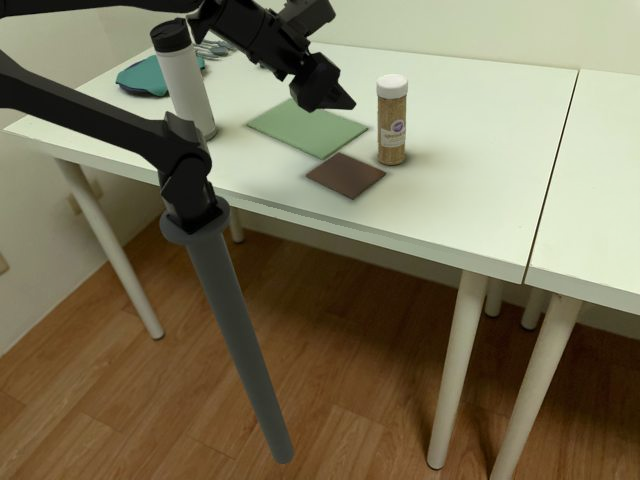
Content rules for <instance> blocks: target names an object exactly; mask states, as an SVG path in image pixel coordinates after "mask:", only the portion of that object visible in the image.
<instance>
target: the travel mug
mask: <svg viewBox="0 0 640 480" xmlns="http://www.w3.org/2000/svg"><path fill="white" fill-rule="evenodd" d="M188 26H189V25H188V23H187V20H186V18H185V17H179V16H176V17H175V18H173V19H169V20H166V21H163V22H160V23H158V24H157V25H155V26H154V27H153V28H152V29H151V30H150V32H149V37H150V40H151V43H152V45H153V49H154V52H155V55H156V56H157V59H158V62H159V65H160V68H161V70H162V73H163V76H164V79H165V82H166V85H167V88H168V90H167V92H168V94H169V96H170V97H169V98H170V100H171V102H172V105H173V108H174V111H175V115H176V116H178V117H179V118H181V119H184V120H191V121H194V123H195V127H197V128H198V129H200V131H201V132H202V133H203V135H204V137H205V140H206V142H207V141H209V140H210V139H212V138H214V137H215V136H216V134H217V133H218V128H217V124H216V120H215V117H214V113H213V111H212V107H211V103H210V99H209V96H208V93H207V89H206V86H205V81H204V78H203V75H202V70H201V71H200V67H199V64H198V60H197V57H196V56H197V55H196V53H195V51H196V50H195V46H193V43H194V42H193V41H192V38H191V32H190V30H189V27H188Z"/></svg>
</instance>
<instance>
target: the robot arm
mask: <svg viewBox="0 0 640 480" xmlns="http://www.w3.org/2000/svg"><path fill="white" fill-rule="evenodd" d="M283 6H284V7H283V8H282V9H281V10H280V11H279V12H277V11H275V10H274V9H273V8H272V7H269V8H267V7H263V6H262V5H261V4H259V3H258V2H256V1H255V0H0V20H2V19H5V18H11V17H12V18H13V17H22V16H29V15H31V16H32V15H42V14H51V13H61V12H71V11H72V12H73V11H82V10H92V9H101V8H102V9H103V8H112V7H130V8H137V9H141V10H145V11H149V12H155V13H157V12H158V13H170V14H180V15H182V14H183V15H185V17H184V18H185V19H186V23H187V25H188V26H189V27H190V35H191V36H192V39H193V41H194V44H197V45H201V44H202V43H203V42H202V41H203V39H205V37H206V36H207V34H208V32H210V33H212V34H213V35H214V36H216V37H218V38H219V39H221V40H222V41H224V42H226V43H228V44H230V45H231V46H233V47H234V48H233V49H236V50H238V52H241V53H242V54H243V55H245V57H246V59H248V61H249V62H250V63H252V64H253V65H255V66H257V65H258V64H259V66H260V65H262V66H264V67H265V68H264V69H266V70H268V71H269V72H271V73H272V75H273V76H274V77H275V79H276V80H278V81H280V82H281V83H284V81H285V80H286V78H287V76H288V75H292V76H294V77H293V78H292V80H291V81H290V82H289V84H288V89H289V95H290V97H291V98H292V99H294V101H295V102H296V104H297V105H298V106H299V107H300V108H302V109H304V110H305V111H307V112H308V113H312V112H314V111H315V110H316V109H321V110H339V111H340V110H342V111H353V110H354V109H355V107H356V106H357V105H358V104H357V102H356V101H355V99H353V98H352V97H351V95H350V94H349V93H348V91H347V90H345V88H344V87H343V86H342V85H341V84H340V82H339V79H340V77H341V71H342V70H341V69H340V67H338V65H336V63H334V62H333V61H332V60H331V59H330V58H329V57H327V55H325V54H324V53H323V52H321V51H317V52H313V53H311V51H310V49H309V48H310V45H311V44H312V41H311V40H310V39H308V37H310V36H312V35H314V33H316V32H317V31H318V30H320V29H321V28H322V27H323V26H325V25H326V24H330V23H332V22H333V21H334V19H335V18H336V17H337V13H336V11H335V9H334V7H333V5H332V4H331V2H330V0H286V2H285V3H284V4H283ZM196 10H197V11H196ZM193 12H194V13H193ZM190 13H191V14H190ZM0 109H1V110H2V109H7V110H13V111H16V112H17V111H18V112H20V113H23V114H25V115H28V116H31V117H33V118H37V119H39V120H42V121H45V122H46V123H47V122H48V123H50V124H53V125H56V126H59V127H61V128H64V129H68V130H70V131H72V132H75V133H78V134H81V135H84V136H87V137H89V138H92V139H95V140H98V141H100V142H104V143H105V144H109V145H112V146H114V147H117V148H119V149H123V150H126V151H128V152H131V153H134V154H136V155H139V156H140V157H141V158H142V159H144V160H145V161H146V162H147V163H149V164H150V165H151V166H152V167H154V169H156V170H157V180H158V185H159V186H158V187H159V189H158V192H159V194H160V196H161V198H162V201H163V204H164V206H165V208H166V209H167V210H168V214H167V215H166V218H167V220H169V221H170V222H171V223H173V224H174V225H176V226H177V227H178V228H180V229H181V230H182V231H184V232H185V233H186V234H188V235H191V234H193V233H194V232H196V231H197V230H199V229H200V228H202V227H204V226H205V225H207V224H208V223H210V222H211V221H213V220H214V219H216V218H217V217H219V216H220V215H222V214H223V210H222V209H221V208H220V207H218V206H216V205H217V204H218V201H217V198H216V195H217V194H216V191H215V188H214V186H213V182H211V181H210V180H209V179H208V176H209V175H210V173H211V171H212V168H213V159H212V156H211V152H210V149H209V146H208V143H207V141H206V140H205V137H204V135H203V133H202V132H201V131H200V129H198V128H197V127H195V123H194V121H191V120H184V119H181V118H179V117H178V116H177V115H176V113H175V114H174V113H173V112H171V111H168V110H166V111H165V113H164V117H163V119H149V118H145V117H143V116H141V115H138V114H136V113H133V112H130V111H128V110H126V109H123V108H121V107H118V106H116V105H113V104H111V103H109V102H107V101H103V100H102V99H98V98H96V97H94V96H91V95H89V94H87V93H84V92H81V91H79V90H77V89H74V88H72V87H70V86H67V85H65V84H62V83H60V82H57V81H54V80H52V79H49V78H47V77H45V76H42V75H39V74H38V73H35V72H32V71H30V70H28V69H27V68H25V67H23V66H22V65H20V64H19V63H18V62H17V61H16V60H15V59H13V58H12V57H10V56H9V55H8V54H7V53H6V52H4V51H3V50H2V49H1V48H0Z"/></svg>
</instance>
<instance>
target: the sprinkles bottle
mask: <svg viewBox="0 0 640 480" xmlns="http://www.w3.org/2000/svg"><path fill="white" fill-rule="evenodd" d="M375 86H376V88H375V92H376V96H377V112H376V117H377V118H376V119H377V120H376V121H377V123H376V125H377V127H376V128H377V132H376V133H377V150H378V151H377V159H378V162H379V163H381V164H383V165H387V166H395V165H399V164H401V163H402V162H404V161H405V159H406V153H405V151H406V141H407V140H406V139H407V97H408V92H409V80H408V78H407V77H406V76H405V75H402V74H399V73H389V74H385V75H384V74H383V75H381V76H380V77H379V78H378V79H377V80H376V85H375Z"/></svg>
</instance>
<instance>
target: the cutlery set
mask: <svg viewBox="0 0 640 480" xmlns="http://www.w3.org/2000/svg"><path fill="white" fill-rule="evenodd" d="M192 43H193V46H194V48H201V49H204V50H208V51H209V52H210V53H212V54H210V53H205V52H200V51H198V49H196V50H195V53H196V57H197V60H198V64H199V67H200V71H201V72H202V70H205V69H206V64H205V63H206V61H205V59H204V58H203V57H205V58H211V59H219V58H220V55H221V54H222V55H223V54H225V53H226V52H228V51H229V49H235V48H234V47H233V46H231V45H230V44H228V43H227V42H225V41H224V40H222V41H221V40H217V41H216V40H215V41H214V40H208V39H205V38H204V39H203V41H202V43H203V44H207V45H217V46H212V47H207V46H205V45H201V44H200V45H197V44H196V43H195V42H192ZM201 56H202V57H201ZM115 84H116V85H118V86H119V87H120V88H121V89H124V90H125V91H129V92H135V93H136V92H137V93H151V94H153V95H155V96H157V97H163V96H164V95H165V94H166V93H167V92H168V88H167V85H166V82H165V79H164V76H163V73H162V70H161V68H160V65H159V62H158V59H157V56H156V54H151V55H150V56H148V57H146V58H145V59H144V58H143V59H142V60H139V61H137V62H135V63H132V64H131V65H129V66H127V67H126V68H125V69H123V70H121V71H119V72H118V73H117V76H116V78H115Z"/></svg>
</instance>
